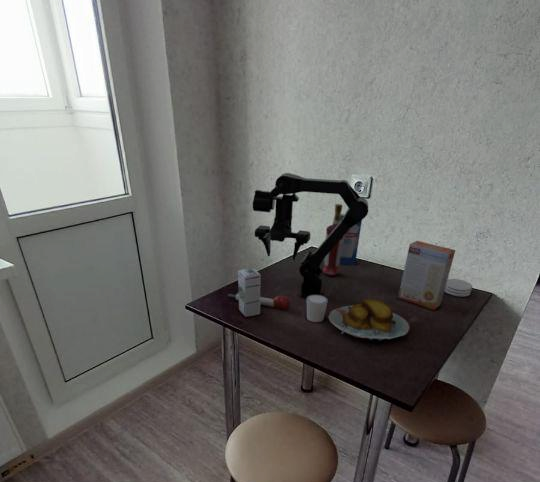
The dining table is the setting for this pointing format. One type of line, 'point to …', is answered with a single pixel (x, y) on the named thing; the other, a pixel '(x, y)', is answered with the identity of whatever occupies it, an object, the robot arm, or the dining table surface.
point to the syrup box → (249, 292)
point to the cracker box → (426, 274)
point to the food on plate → (369, 320)
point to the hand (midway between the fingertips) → (281, 257)
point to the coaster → (458, 288)
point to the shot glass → (316, 308)
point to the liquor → (334, 255)
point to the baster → (270, 301)
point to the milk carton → (350, 244)
